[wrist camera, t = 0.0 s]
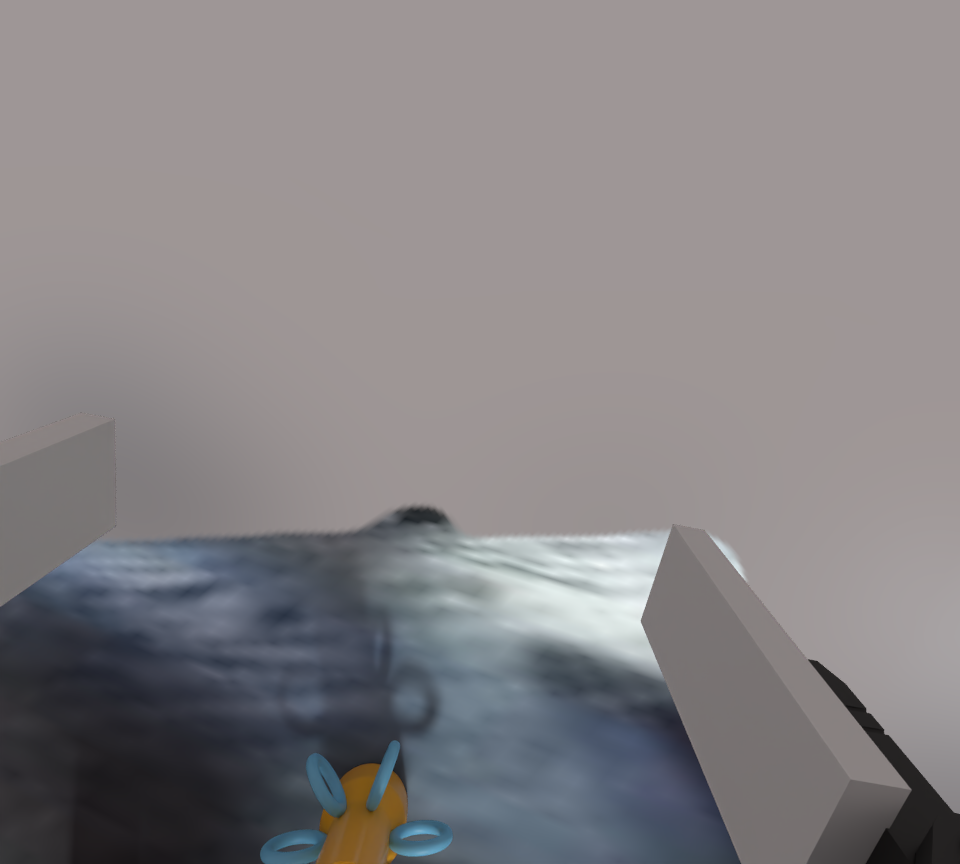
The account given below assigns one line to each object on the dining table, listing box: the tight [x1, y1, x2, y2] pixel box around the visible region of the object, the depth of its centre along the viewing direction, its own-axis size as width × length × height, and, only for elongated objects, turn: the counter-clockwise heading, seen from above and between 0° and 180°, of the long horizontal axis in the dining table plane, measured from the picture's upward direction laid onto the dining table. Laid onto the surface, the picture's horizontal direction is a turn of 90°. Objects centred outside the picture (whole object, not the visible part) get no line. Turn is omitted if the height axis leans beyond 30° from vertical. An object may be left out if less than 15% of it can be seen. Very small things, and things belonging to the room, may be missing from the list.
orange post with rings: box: [260, 740, 453, 864], centre depth 34 cm, size 12×10×15 cm
